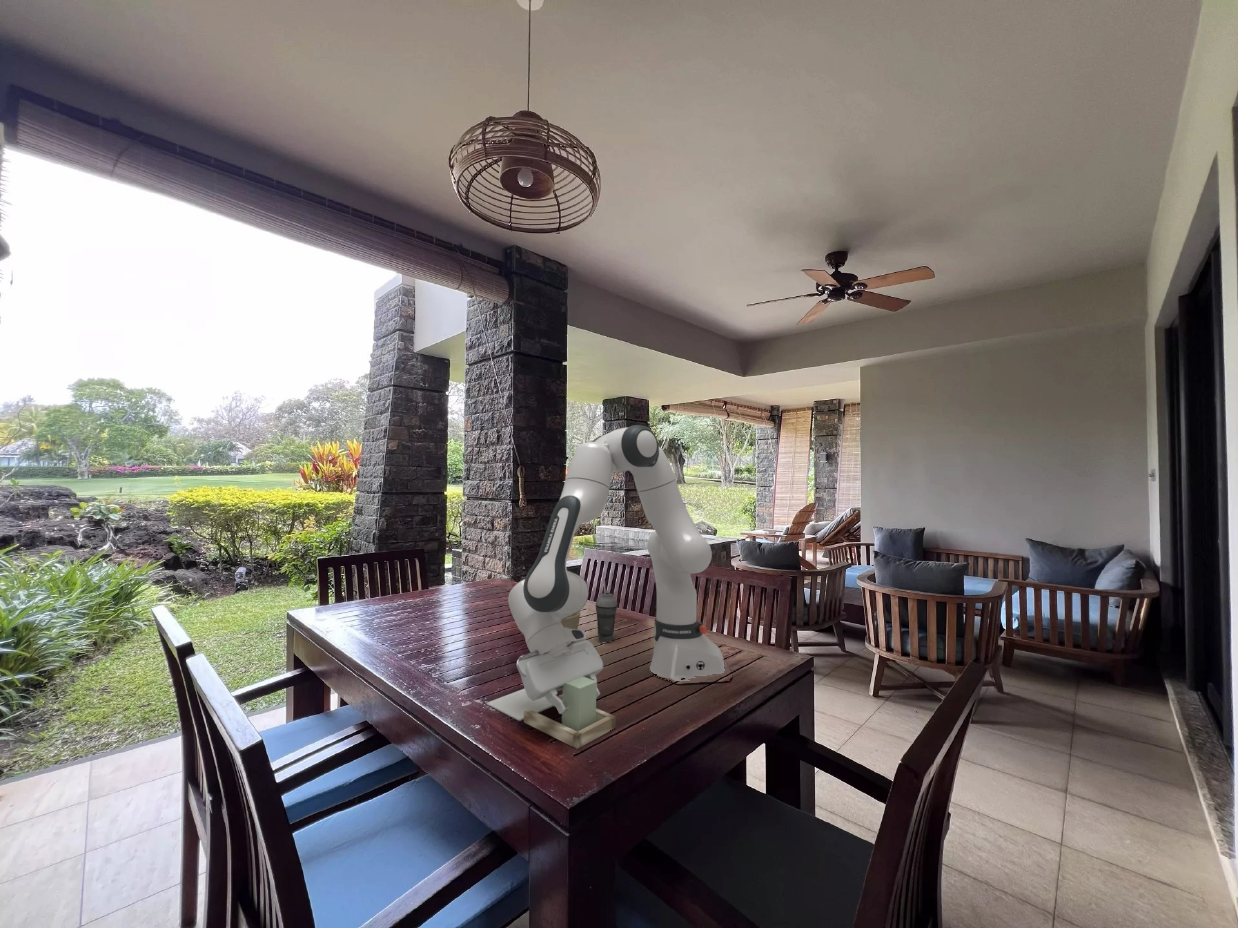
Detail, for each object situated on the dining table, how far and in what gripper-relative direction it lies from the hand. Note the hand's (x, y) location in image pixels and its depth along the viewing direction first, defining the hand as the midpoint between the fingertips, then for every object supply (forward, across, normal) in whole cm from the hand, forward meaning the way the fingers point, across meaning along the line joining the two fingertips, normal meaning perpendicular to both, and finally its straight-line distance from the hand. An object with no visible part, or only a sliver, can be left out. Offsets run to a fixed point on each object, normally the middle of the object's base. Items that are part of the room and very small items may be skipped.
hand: (581, 704), depth 107 cm
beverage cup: (-21, +48, +29) cm, 60 cm away
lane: (+2, 0, +6) cm, 6 cm away
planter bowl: (-27, +33, +35) cm, 55 cm away
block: (+4, 0, +4) cm, 6 cm away
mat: (-9, 0, +17) cm, 19 cm away
